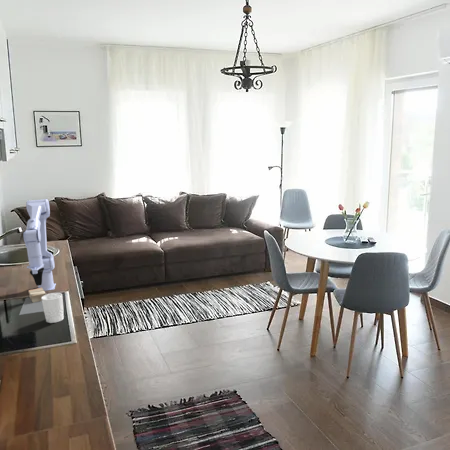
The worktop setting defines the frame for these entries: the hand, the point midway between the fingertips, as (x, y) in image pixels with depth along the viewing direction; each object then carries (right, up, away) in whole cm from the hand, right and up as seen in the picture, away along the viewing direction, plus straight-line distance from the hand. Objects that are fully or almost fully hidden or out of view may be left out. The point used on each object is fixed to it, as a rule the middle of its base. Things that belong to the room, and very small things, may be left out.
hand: (39, 284), depth 210 cm
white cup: (+16, -11, -24) cm, 31 cm away
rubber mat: (+2, -8, -5) cm, 10 cm away
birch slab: (+1, -6, -2) cm, 6 cm away
